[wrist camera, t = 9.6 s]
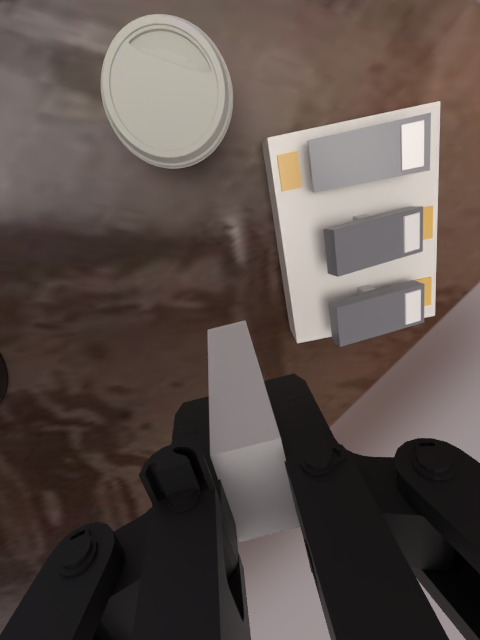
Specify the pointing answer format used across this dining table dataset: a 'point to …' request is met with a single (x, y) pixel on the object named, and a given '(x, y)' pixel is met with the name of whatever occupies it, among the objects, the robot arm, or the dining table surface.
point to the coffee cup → (166, 91)
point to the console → (338, 208)
